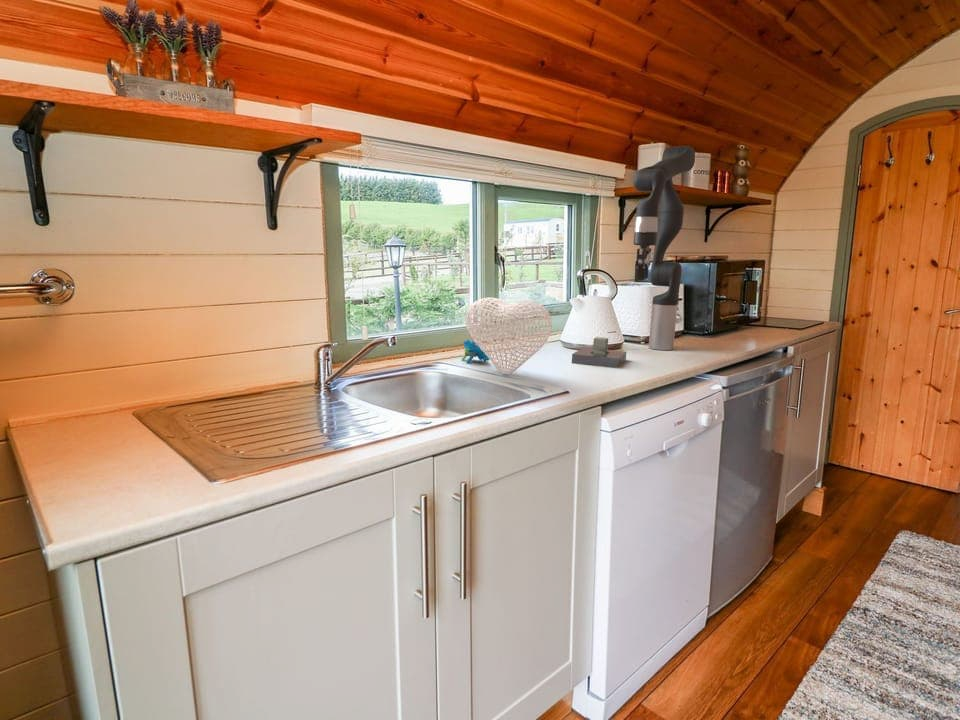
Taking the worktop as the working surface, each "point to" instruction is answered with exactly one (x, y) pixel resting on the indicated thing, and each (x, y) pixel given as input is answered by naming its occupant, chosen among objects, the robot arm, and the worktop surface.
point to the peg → (600, 345)
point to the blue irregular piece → (473, 351)
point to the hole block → (599, 358)
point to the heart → (508, 330)
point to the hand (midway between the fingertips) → (642, 279)
